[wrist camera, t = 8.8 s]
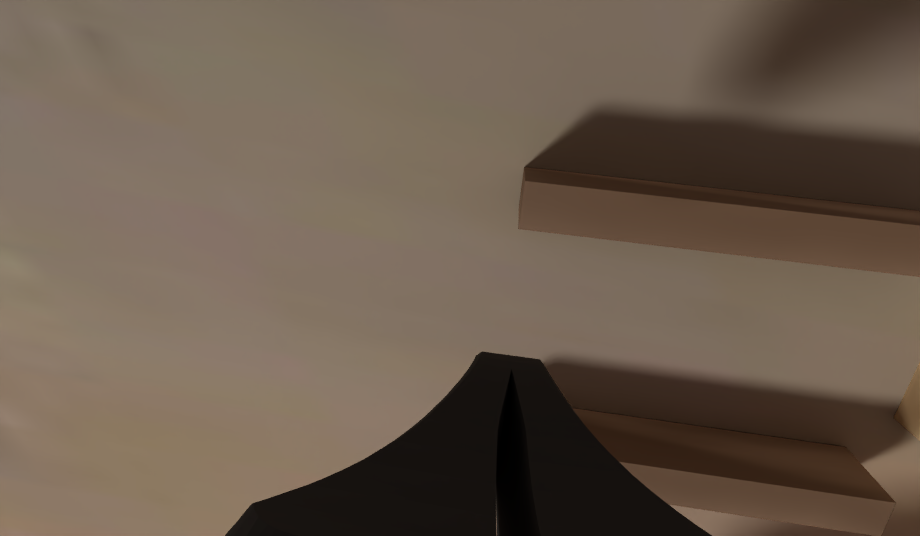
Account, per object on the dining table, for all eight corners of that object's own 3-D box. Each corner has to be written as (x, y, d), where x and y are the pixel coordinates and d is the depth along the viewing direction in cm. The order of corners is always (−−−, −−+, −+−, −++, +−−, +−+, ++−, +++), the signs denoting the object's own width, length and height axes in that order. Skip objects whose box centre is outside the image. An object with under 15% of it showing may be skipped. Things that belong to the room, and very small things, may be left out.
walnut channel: (833, 477, 21) (880, 536, 19) (489, 427, 22) (485, 475, 20) (940, 212, 18) (1019, 236, 15) (524, 166, 19) (524, 181, 16)
